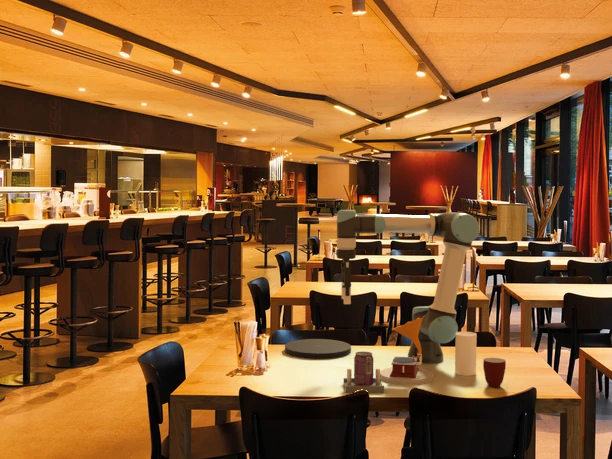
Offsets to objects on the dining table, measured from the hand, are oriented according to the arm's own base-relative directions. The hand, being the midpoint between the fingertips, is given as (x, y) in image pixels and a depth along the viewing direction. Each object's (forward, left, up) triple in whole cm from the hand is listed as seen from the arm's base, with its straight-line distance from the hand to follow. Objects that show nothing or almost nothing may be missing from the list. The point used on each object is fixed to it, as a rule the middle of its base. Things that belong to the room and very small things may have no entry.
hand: (346, 301), depth 306 cm
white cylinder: (-48, +2, -29) cm, 56 cm away
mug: (-54, +21, -29) cm, 65 cm away
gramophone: (-23, +9, -29) cm, 38 cm away
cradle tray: (-5, +25, -29) cm, 38 cm away
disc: (+10, -38, -29) cm, 49 cm away
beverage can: (-5, +25, -28) cm, 37 cm away
